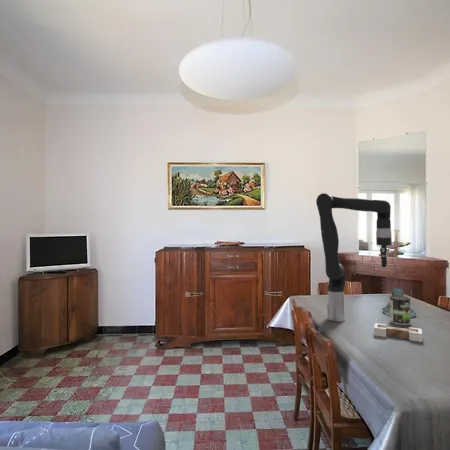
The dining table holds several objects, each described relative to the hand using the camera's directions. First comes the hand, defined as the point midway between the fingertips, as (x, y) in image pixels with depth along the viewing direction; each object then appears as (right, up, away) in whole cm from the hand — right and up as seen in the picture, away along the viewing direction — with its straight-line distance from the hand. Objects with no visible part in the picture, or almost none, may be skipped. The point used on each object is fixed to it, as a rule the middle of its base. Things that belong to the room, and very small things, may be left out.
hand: (384, 265), depth 175 cm
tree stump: (+20, -33, +22) cm, 45 cm away
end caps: (-1, -33, -16) cm, 37 cm away
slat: (-1, -34, -16) cm, 37 cm away
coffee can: (+12, -33, +5) cm, 35 cm away
